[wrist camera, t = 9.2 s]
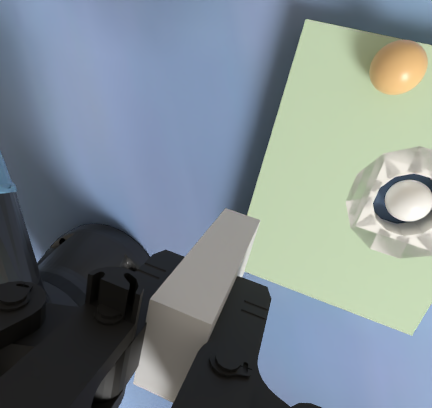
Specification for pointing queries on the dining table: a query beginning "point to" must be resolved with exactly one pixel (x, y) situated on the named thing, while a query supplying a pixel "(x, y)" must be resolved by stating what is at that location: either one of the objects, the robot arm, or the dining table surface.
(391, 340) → the dining table surface
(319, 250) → the putting mat
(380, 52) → the orange ball
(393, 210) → the white ball
